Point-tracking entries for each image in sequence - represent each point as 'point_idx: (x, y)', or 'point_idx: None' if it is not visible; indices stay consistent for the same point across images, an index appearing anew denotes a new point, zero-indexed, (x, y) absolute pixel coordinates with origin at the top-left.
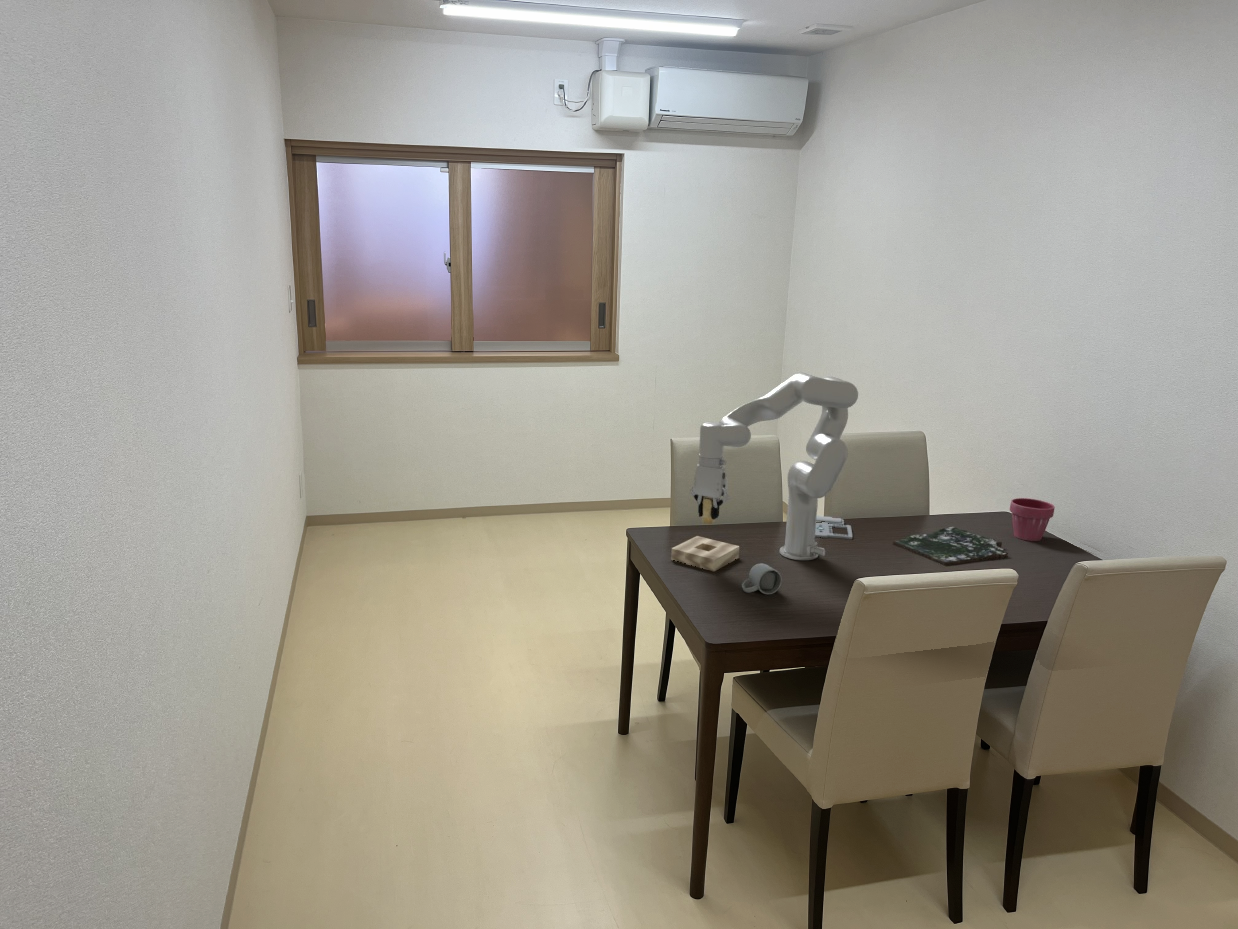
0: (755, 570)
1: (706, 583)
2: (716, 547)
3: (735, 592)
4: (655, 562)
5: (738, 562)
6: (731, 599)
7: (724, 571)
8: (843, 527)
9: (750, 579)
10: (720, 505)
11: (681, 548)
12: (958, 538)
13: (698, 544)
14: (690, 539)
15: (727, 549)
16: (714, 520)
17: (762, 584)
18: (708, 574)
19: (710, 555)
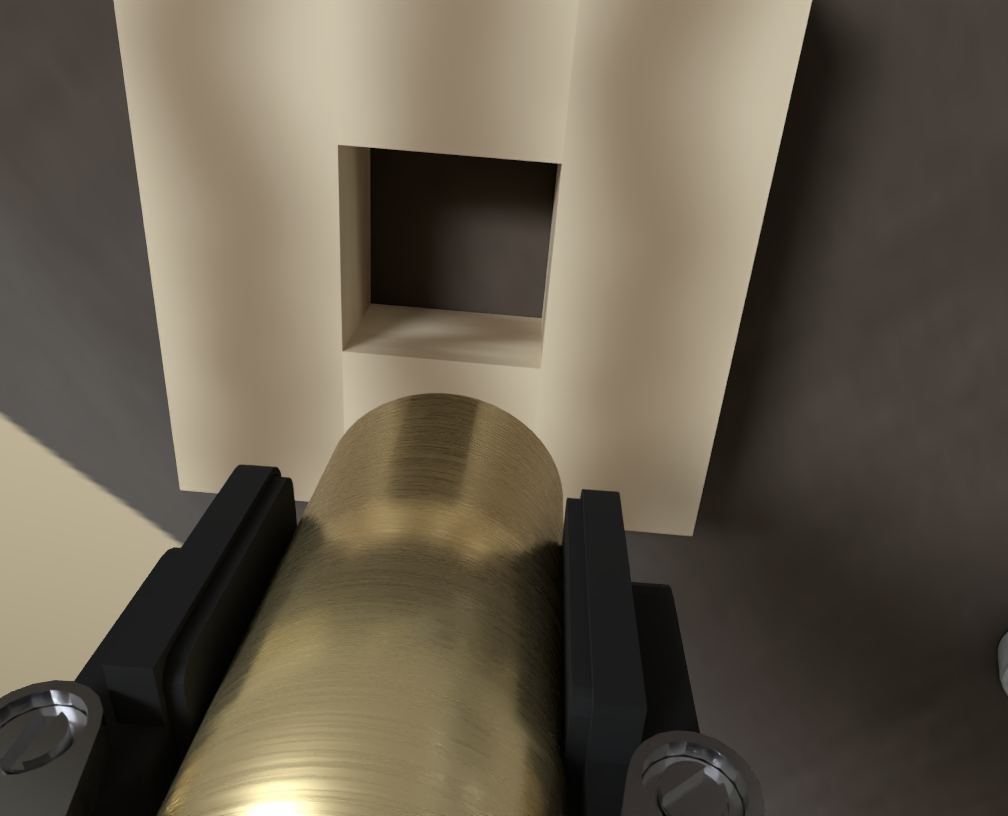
0: None
1: (706, 678)
2: (559, 191)
3: (950, 711)
4: (167, 534)
5: (818, 106)
6: (946, 800)
7: (755, 415)
8: None
9: None
10: (739, 774)
11: (255, 441)
12: None
13: (323, 221)
14: (134, 103)
15: (711, 178)
16: (557, 490)
17: None
18: (653, 537)
19: (608, 463)
